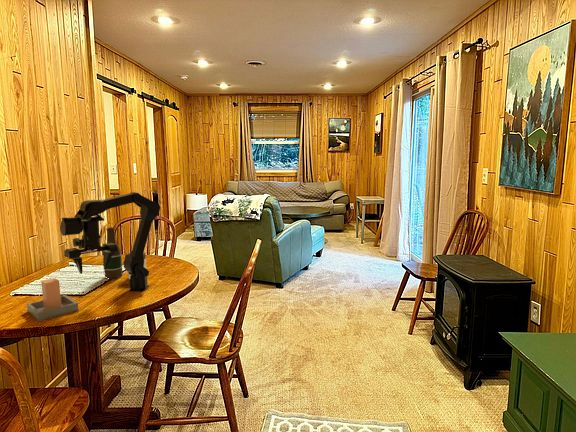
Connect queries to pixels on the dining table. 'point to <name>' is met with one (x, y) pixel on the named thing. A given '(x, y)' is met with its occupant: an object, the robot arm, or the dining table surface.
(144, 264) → the jar
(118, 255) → the beer bottle
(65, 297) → the tote
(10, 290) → the dining table surface
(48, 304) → the carton
